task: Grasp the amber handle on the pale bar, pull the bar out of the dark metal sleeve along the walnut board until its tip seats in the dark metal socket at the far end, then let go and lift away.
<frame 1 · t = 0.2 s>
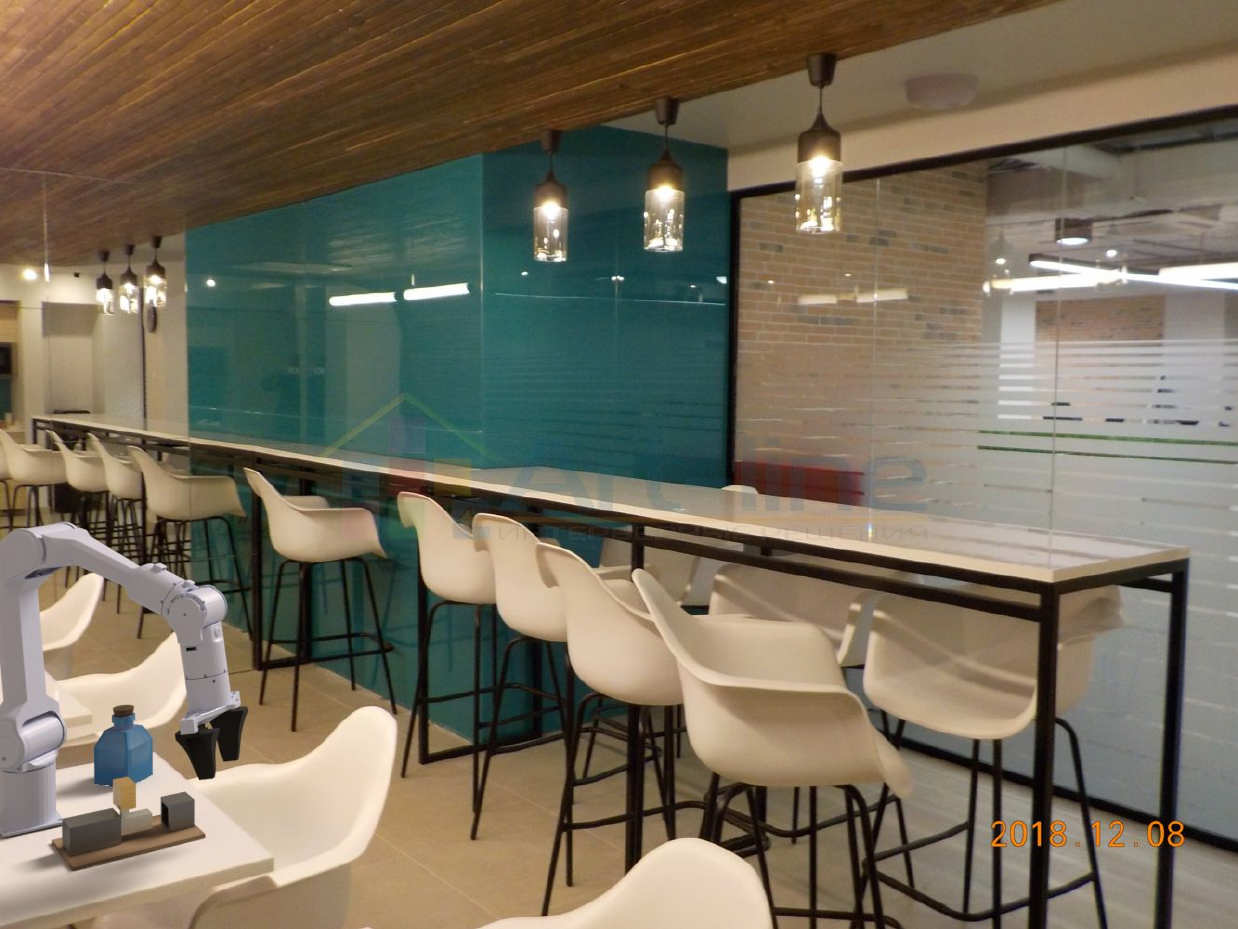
hand: (219, 769, 147), 11 cm above the table, tool pointing down, fingers open, 7 cm apart
pale bar: (112, 809, 146), point 5 cm above the table, slide at 0.0 cm
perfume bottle: (123, 781, 171), on the table
sleeve and socket: (130, 822, 148), on the walnut board
walnut board: (129, 840, 148), on the table
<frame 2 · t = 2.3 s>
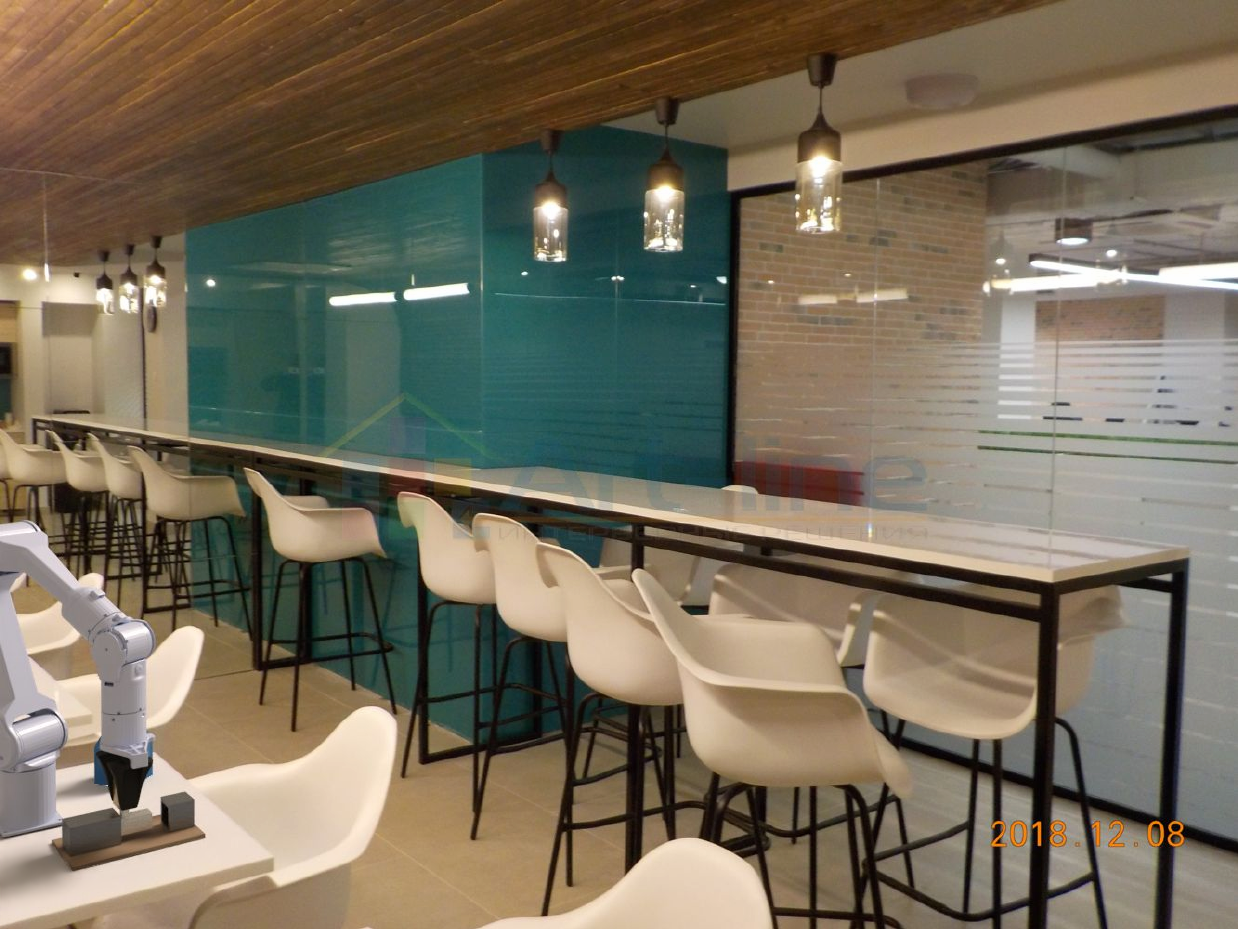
hand: (124, 804, 147), 5 cm above the table, tool pointing down, fingers closed on pale bar, 4 cm apart
pale bar: (112, 809, 146), point 5 cm above the table, slide at 0.0 cm, touching gripper
everything else where it was.
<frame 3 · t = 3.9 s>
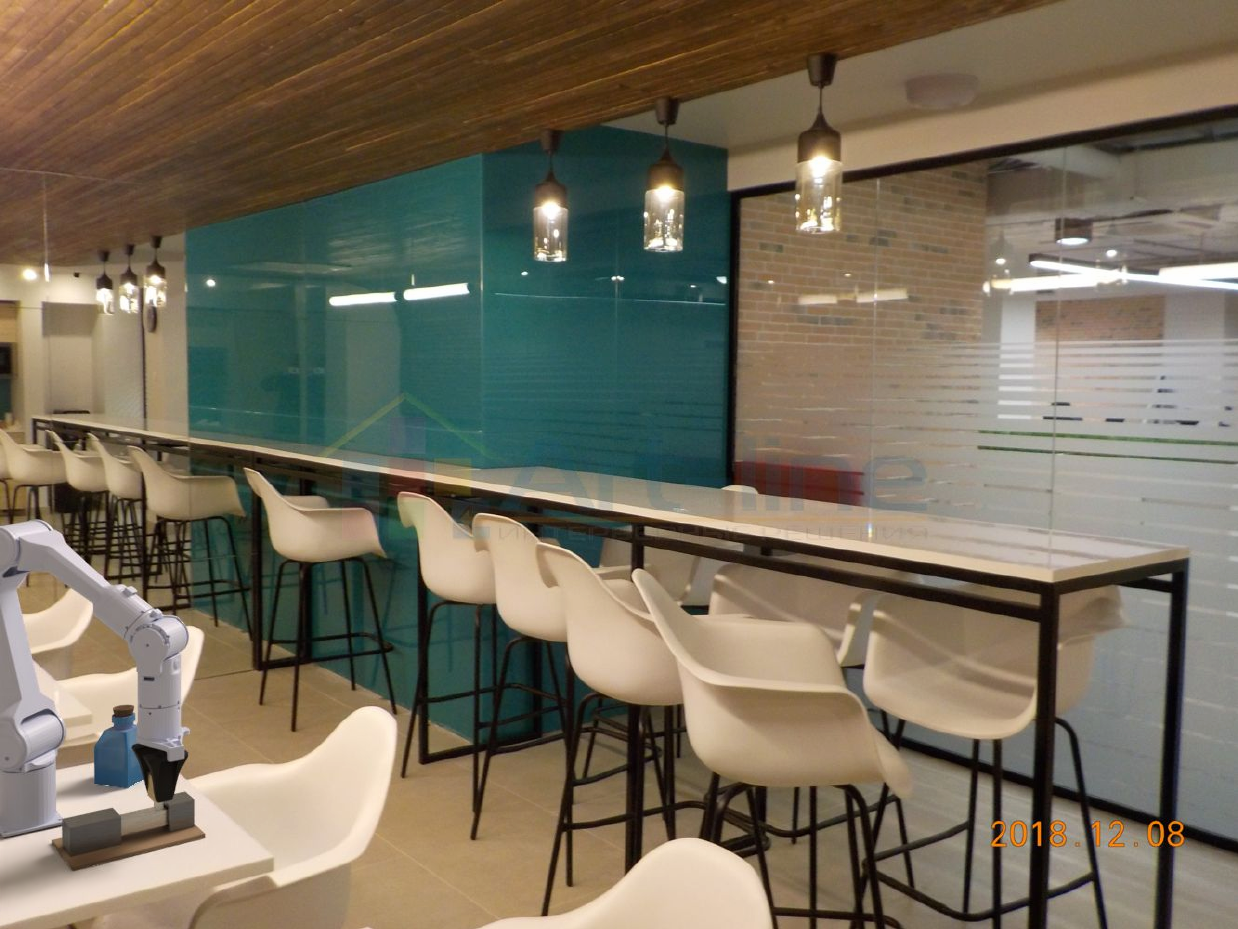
hand: (159, 796, 150), 5 cm above the table, tool pointing down, fingers closed on pale bar, 3 cm apart
pale bar: (147, 801, 149), point 5 cm above the table, slide at 4.6 cm, touching gripper
everything else where it was.
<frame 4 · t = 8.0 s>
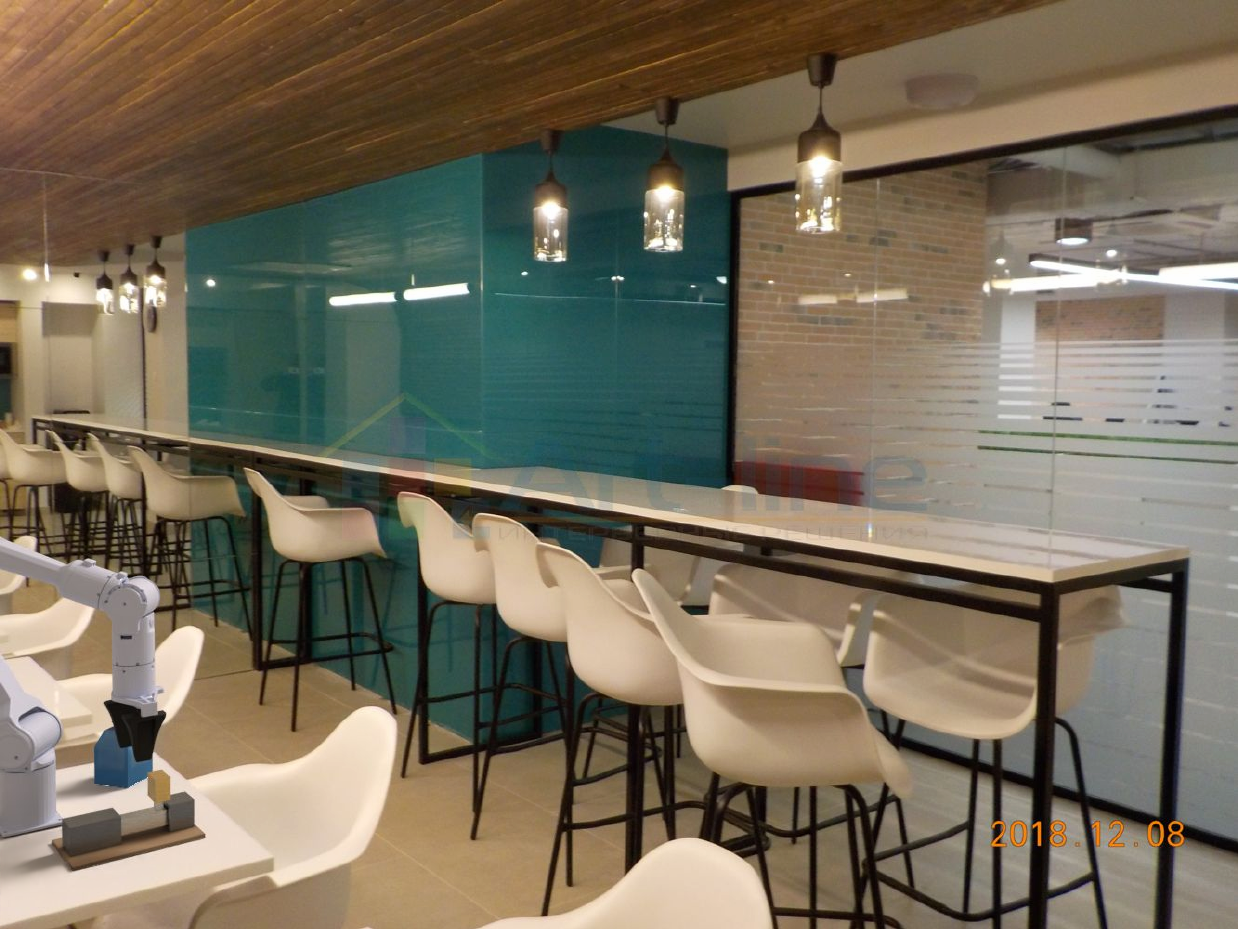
hand: (135, 753, 154), 10 cm above the table, tool pointing down, fingers open, 7 cm apart
pale bar: (147, 801, 149), point 5 cm above the table, slide at 4.6 cm
everything else where it was.
at the end: pale bar slide at 4.6 cm; the gripper is holding nothing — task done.
